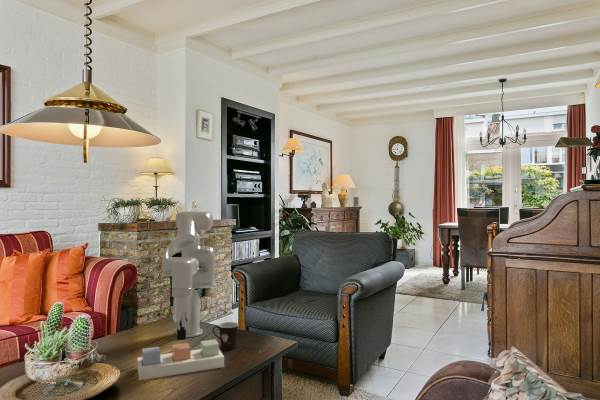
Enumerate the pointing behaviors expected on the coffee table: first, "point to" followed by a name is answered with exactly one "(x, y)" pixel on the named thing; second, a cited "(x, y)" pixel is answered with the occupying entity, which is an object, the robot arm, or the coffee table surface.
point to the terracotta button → (181, 352)
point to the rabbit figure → (100, 357)
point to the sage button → (209, 348)
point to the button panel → (179, 365)
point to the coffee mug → (227, 335)
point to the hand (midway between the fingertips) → (181, 339)
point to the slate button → (150, 356)
